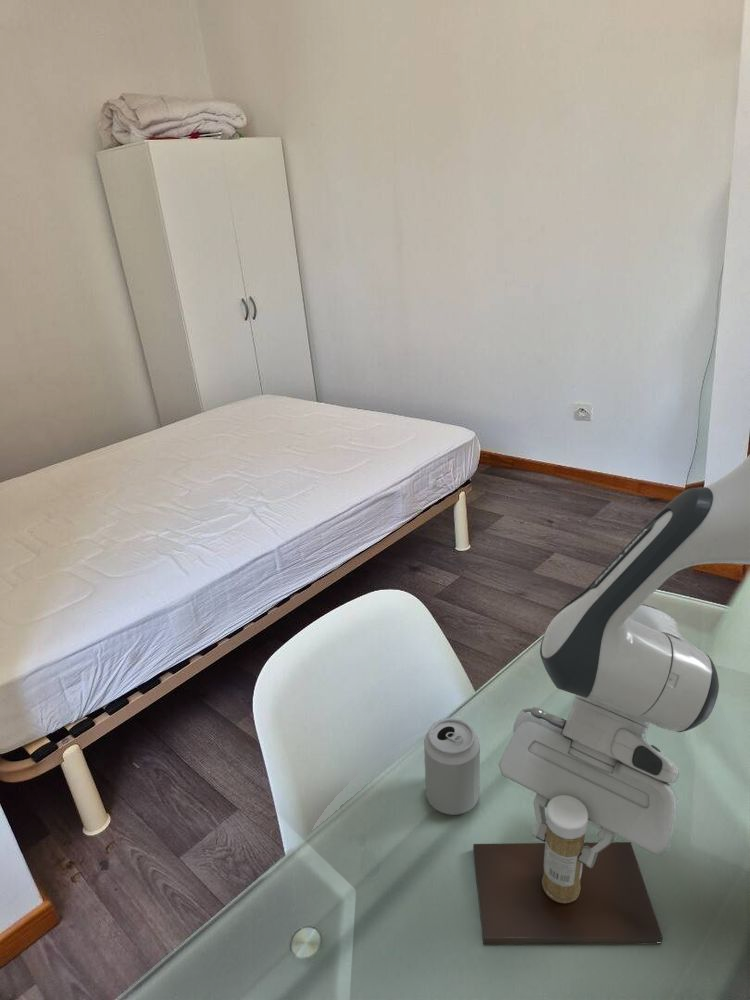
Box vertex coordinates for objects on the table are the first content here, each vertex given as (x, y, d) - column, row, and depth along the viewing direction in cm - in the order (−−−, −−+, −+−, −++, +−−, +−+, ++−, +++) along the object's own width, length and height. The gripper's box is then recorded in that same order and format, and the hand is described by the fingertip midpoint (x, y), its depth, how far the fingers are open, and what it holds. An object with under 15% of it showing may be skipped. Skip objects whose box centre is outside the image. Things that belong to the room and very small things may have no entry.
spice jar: (587, 886, 83) (596, 809, 77) (566, 913, 80) (574, 835, 74) (554, 862, 86) (560, 786, 80) (533, 887, 83) (538, 811, 77)
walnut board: (629, 848, 88) (630, 841, 88) (661, 944, 77) (662, 937, 77) (473, 849, 89) (473, 843, 89) (483, 944, 79) (483, 938, 78)
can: (449, 766, 102) (448, 704, 96) (490, 794, 97) (491, 731, 91) (414, 797, 97) (411, 735, 92) (456, 829, 92) (455, 764, 87)
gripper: (515, 698, 85) (474, 807, 83) (688, 774, 73) (646, 904, 71) (530, 704, 90) (491, 807, 88) (694, 776, 78) (655, 897, 76)
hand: (562, 851), depth 79 cm, fingers closed on spice jar, 4 cm apart
